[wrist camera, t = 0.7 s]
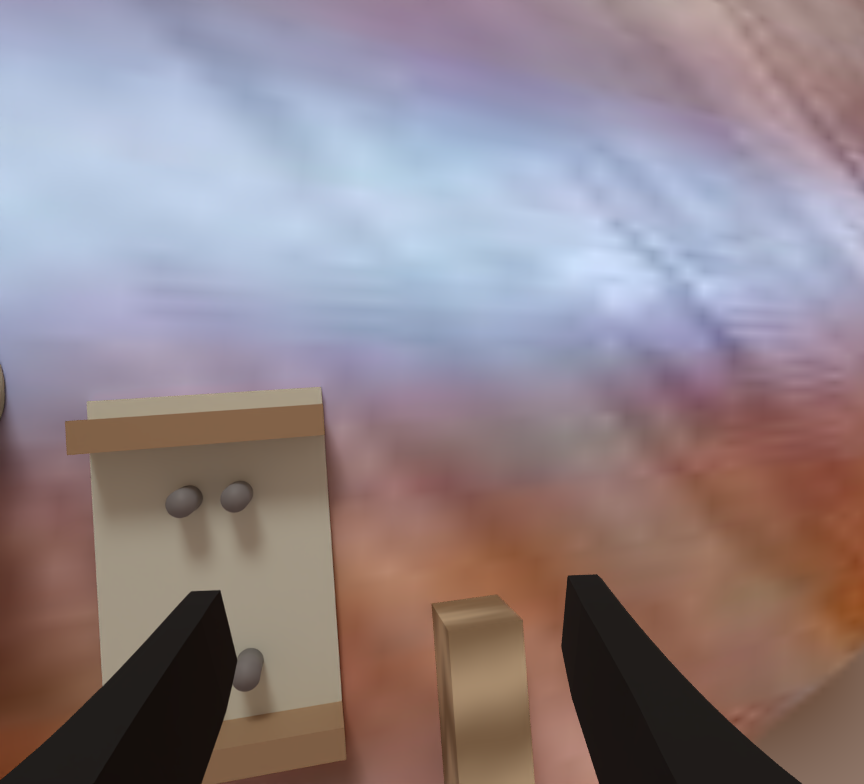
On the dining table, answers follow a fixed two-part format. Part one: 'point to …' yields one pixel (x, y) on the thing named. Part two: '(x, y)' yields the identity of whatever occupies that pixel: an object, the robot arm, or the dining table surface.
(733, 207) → the dining table surface
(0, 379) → the coffee can
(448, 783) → the tan wooden block
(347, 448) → the dining table surface
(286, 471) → the peg plate
